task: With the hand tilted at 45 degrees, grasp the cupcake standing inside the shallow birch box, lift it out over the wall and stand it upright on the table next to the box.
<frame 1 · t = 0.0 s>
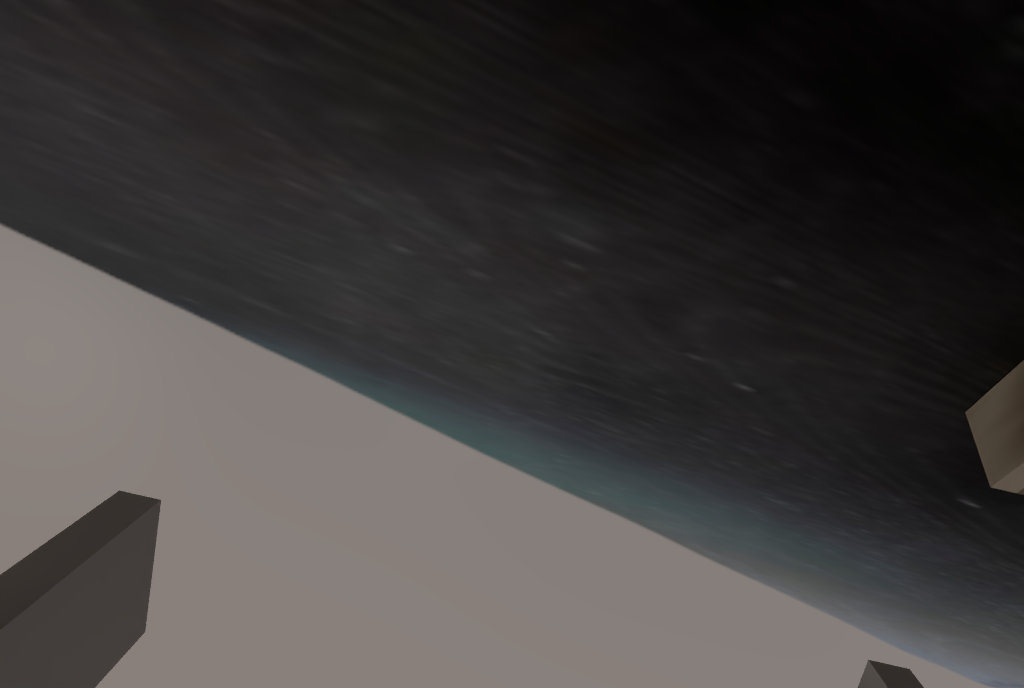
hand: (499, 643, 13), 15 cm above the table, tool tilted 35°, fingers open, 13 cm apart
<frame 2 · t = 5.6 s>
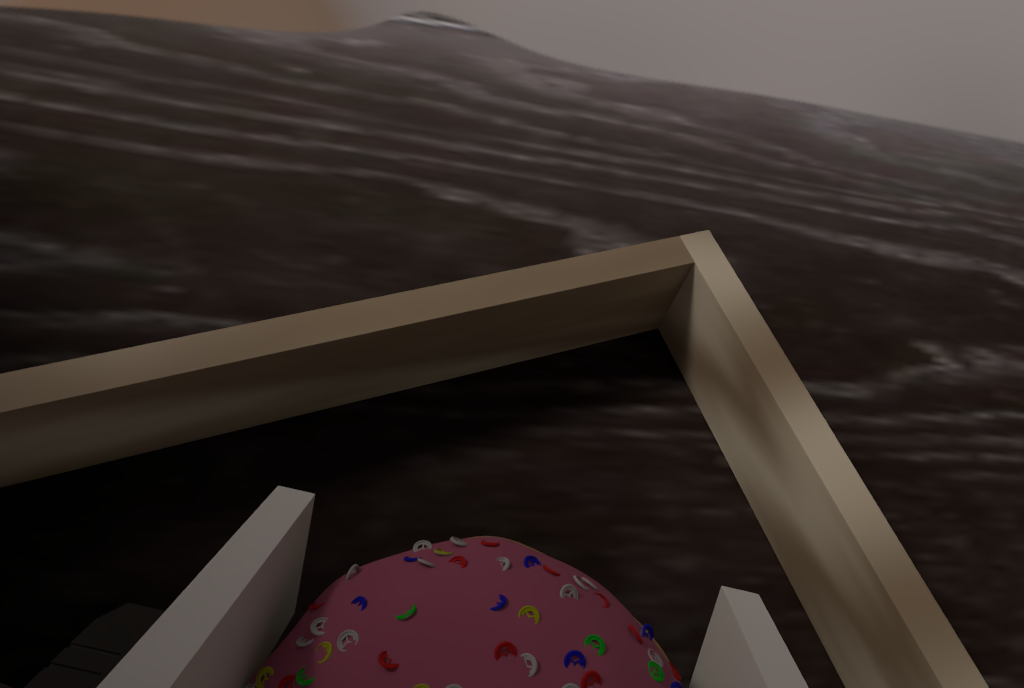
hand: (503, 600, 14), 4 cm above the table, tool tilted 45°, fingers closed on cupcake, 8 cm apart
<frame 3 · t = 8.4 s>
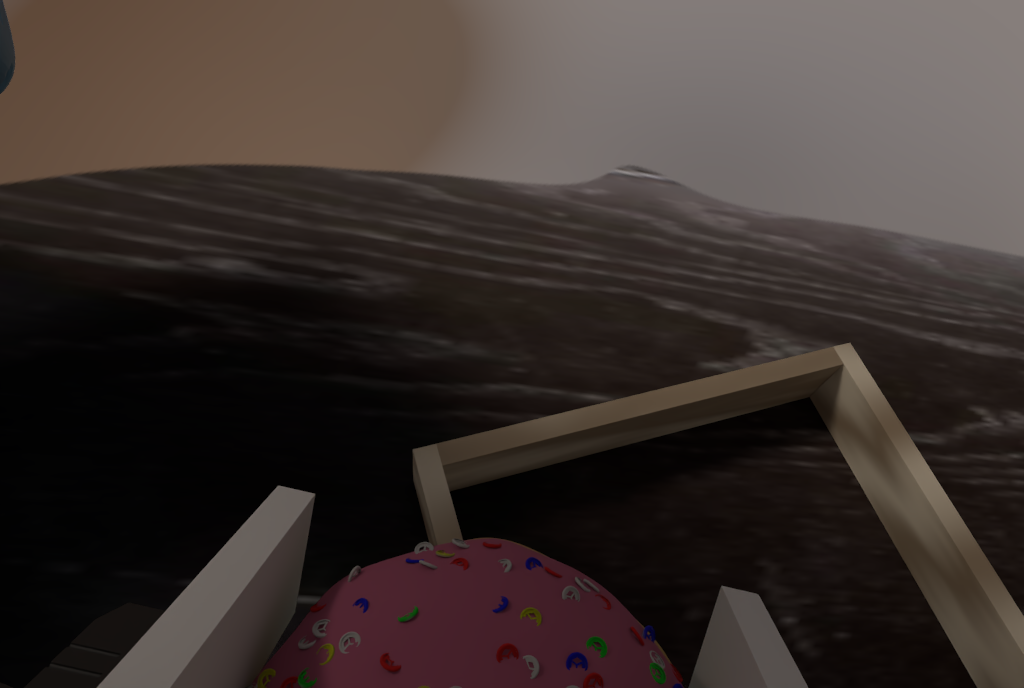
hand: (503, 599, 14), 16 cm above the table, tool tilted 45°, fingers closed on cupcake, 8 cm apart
birch box: (729, 653, 30), on the table
when the fingers open (5 cm above the table, at t = 11.5 s): cupcake drops 1 cm, on the table.
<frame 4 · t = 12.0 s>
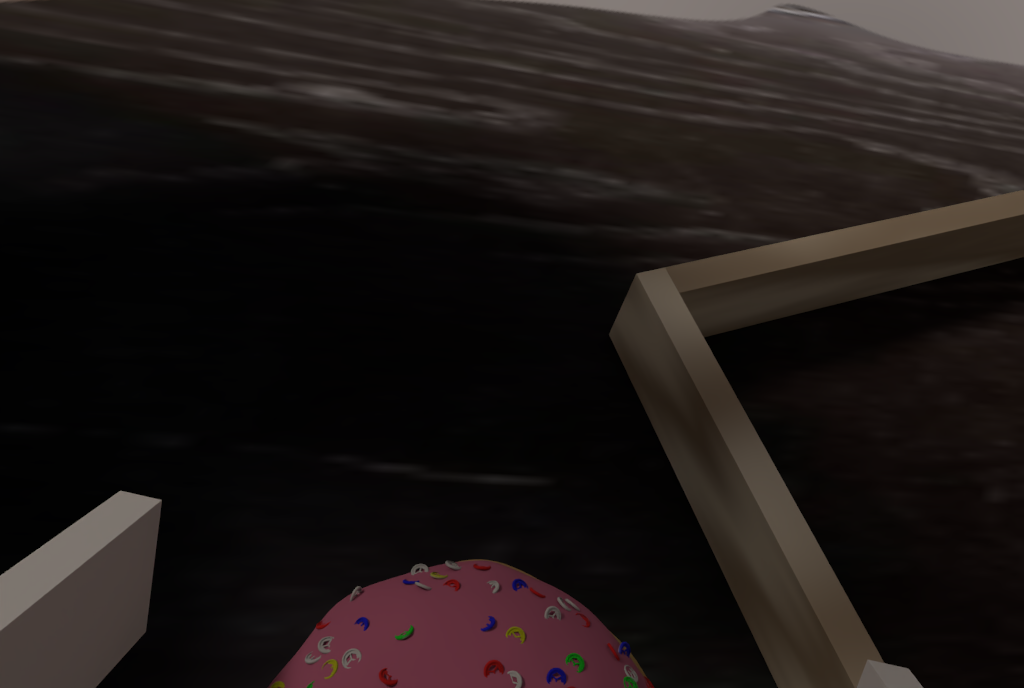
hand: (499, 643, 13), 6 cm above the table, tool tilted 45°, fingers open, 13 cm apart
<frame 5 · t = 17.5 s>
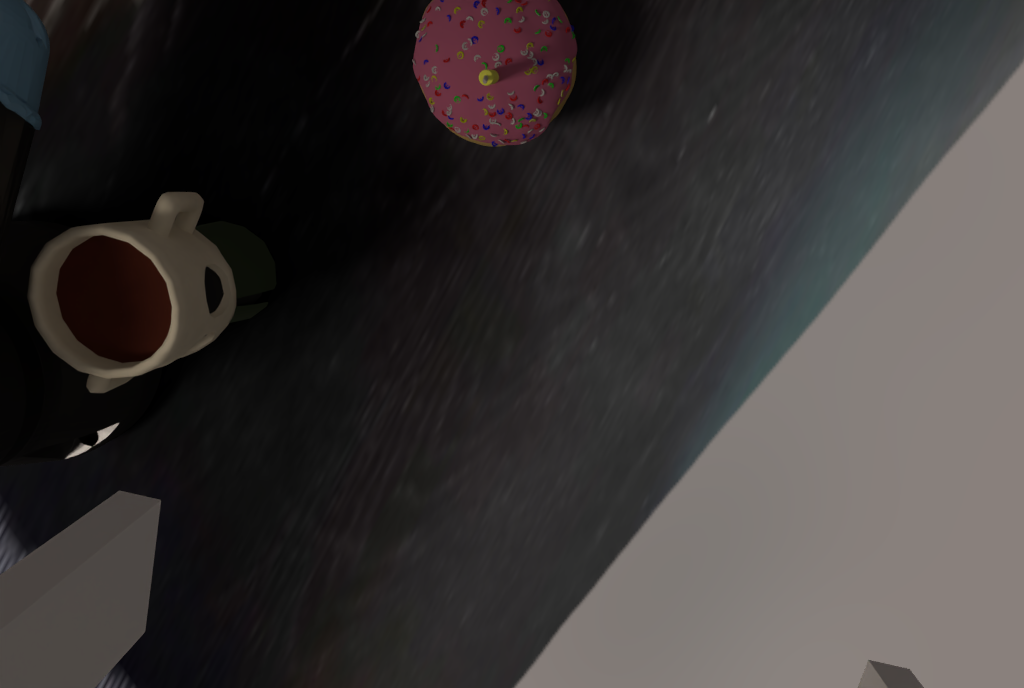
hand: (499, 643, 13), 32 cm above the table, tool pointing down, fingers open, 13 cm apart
character mug: (232, 270, 44), on the table
cupcake: (500, 75, 41), on the table
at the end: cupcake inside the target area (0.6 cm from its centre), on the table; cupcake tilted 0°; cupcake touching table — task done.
